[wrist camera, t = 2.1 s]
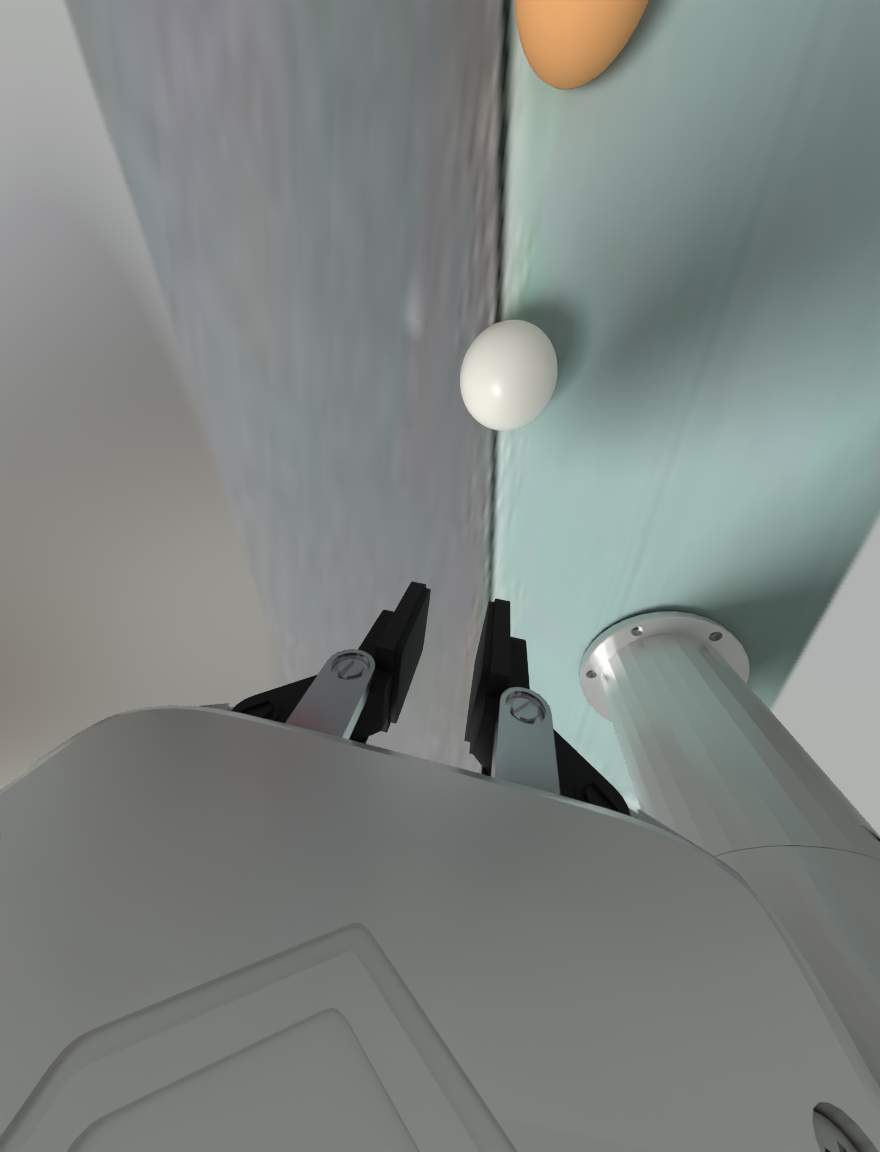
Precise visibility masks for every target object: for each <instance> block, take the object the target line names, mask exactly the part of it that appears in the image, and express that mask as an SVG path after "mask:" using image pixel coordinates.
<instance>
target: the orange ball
mask: <svg viewBox="0 0 880 1152" xmlns="http://www.w3.org/2000/svg"><path fill="white" fill-rule="evenodd" d="M648 1H649V0H515V10H516V21H517V26H518V31H519V36H520V41H521V44H522V48H523V51H524V53H525V55H526V58H527V60H528V62H529V64H530V66H531V67H532V69H533V71H534V72H535V73H536V74H537V76H538V77H539V78H540V79H542V80H543V81H544V82H545V83H546V84H548V85H550V86H552V87H555V88H558V89H573V88H576V87H580V86H582V85H584V84H586V83H588V82H590V81H591V80H593V79H594V78H596V77H597V76H598V75H600V74H601V73H602V72H603V71H604V70H605V69H606V68H607V67H608V66H609V65H610V64H611V63H612V62H613V61H614V60H615V58H616V57H617V56H618V54H619V53H620V52H621V51H622V49H623V48H624V47H625V45H626V43H627V42H628V40H629V39H630V37H631V36H632V34H633V32H634V30H635V29H636V27H637V25H638V23H639V21H640V19H641V17H642V15H643V13H644V11H645V8H646V6H647V4H648Z"/></svg>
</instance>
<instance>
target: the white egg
mask: <svg viewBox="0 0 880 1152" xmlns="http://www.w3.org/2000/svg"><path fill="white" fill-rule="evenodd" d="M557 371H558V366H557V358H556V353H555V350H554V348H553V345H552V343H551V341H550V340H549V338H548V337H547V336H546V334H545V333H544V332H543V331H542V330H541V329H539V328H538V327H537V326H535V325H533V324H531V323H529V322H526V321H523V320H505V321H501V322H498V323H496V324H494V325H492V326H490V327H488V328H487V329H485V330H484V331H483V332H482V333H481V334H479V335H478V336H477V338H476V339H475V340H474V341H473V343H472V344H471V346H470V347H469V349H468V351H467V353H466V355H465V358H464V360H463V364H462V367H461V374H460V388H461V394H462V397H463V401H464V403H465V405H466V407H467V409H468V411H469V412H470V414H471V415H472V416H473V417H474V418H475V419H476V420H477V421H478V422H479V423H481V424H482V425H484V426H486V427H488V428H491V429H494V430H501V431H507V430H513V429H517V428H520V427H523V426H525V425H526V424H528V423H530V422H531V421H533V420H534V419H535V418H536V417H537V416H538V415H539V414H540V413H541V412H542V411H543V410H544V408H545V407H546V406H547V404H548V402H549V401H550V399H551V397H552V394H553V392H554V389H555V385H556V381H557Z"/></svg>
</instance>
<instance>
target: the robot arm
mask: <svg viewBox="0 0 880 1152" xmlns="http://www.w3.org/2000/svg"><path fill="white" fill-rule="evenodd" d="M430 592H431V590H430V589H427V588H426V584H422V583H417V582H411V583H410V585H409V587H408V589H407V590H406V592H405V594H404V596H403V597H402V599H401V601H400V603H399V605H398V606H397V608H396V610H395V612H393V611H388V610H383V611H382V612H381V614H380V616H379V617H378V619H377V620H376V622H375V623H374V625H373V627H372V628H371V630H370V631H369V633H368V635H367V636H366V638H365V639H364V641H363V642H362V644H361V646H360V647H359V649H358V650H355V649H350V650H343V651H340V652H338V653H336V654H334V655H332V656H331V657H330V658H329V659H328V660H327V662H326V663H325V665H324V666H323V668H322V669H321V671H320V672H319V674H318V675H315V676H312V677H309V678H306V679H303V680H300V681H297V682H294V683H291V684H288V685H285V686H282V687H279V688H276V689H272V690H270V691H266V692H263V693H260V694H257V695H254V696H252V697H249V698H247V699H245V700H243V701H242V702H240V703H239V704H237V705H236V706H235V707H230V706H229V703H228V704H227V703H226V704H216V705H204V706H178V705H177V706H175V705H169V706H157V707H146V708H140V709H135V710H130V711H126V712H122V713H119V714H116V715H113V716H110V717H107V718H105V719H103V720H101V721H99V722H97V723H95V724H93V725H92V726H90V727H88V728H86V729H84V730H83V731H81V732H80V733H78V734H76V735H74V736H73V737H71V738H70V739H68V740H67V741H65V742H64V743H62V744H61V745H59V746H58V747H56V748H55V749H53V750H52V751H50V752H49V753H47V754H46V755H44V756H43V757H42V758H40V759H39V760H37V761H36V762H35V763H33V764H31V765H30V766H29V767H27V768H26V769H24V770H23V771H22V772H20V773H19V774H17V775H16V776H15V777H13V778H12V779H10V780H9V781H8V782H6V783H5V784H4V785H2V786H1V787H0V1152H880V836H879V835H878V833H877V832H876V831H875V830H874V829H873V828H872V827H871V825H870V824H869V823H868V822H867V821H866V820H865V819H864V817H863V816H862V815H861V814H860V813H859V812H858V810H857V809H856V808H855V807H854V806H853V805H852V804H851V802H849V800H848V799H847V798H846V797H845V796H844V795H843V794H842V792H841V791H840V790H839V789H838V788H837V787H836V785H835V784H834V783H833V782H832V781H831V780H830V778H829V777H828V776H827V775H826V774H825V773H824V772H823V770H822V769H821V768H820V767H819V766H818V765H817V764H816V763H815V762H814V760H813V759H812V758H811V757H810V756H809V755H808V753H807V752H806V751H805V750H804V749H803V748H802V746H801V745H800V744H799V743H798V742H797V741H796V740H795V738H794V737H793V736H792V735H791V734H790V733H789V732H788V730H787V729H786V728H785V727H784V726H783V725H782V724H781V722H780V721H779V720H778V719H777V718H776V717H775V716H774V715H773V713H772V712H771V711H770V710H769V709H768V708H767V706H766V705H765V704H764V703H763V702H762V701H761V700H760V698H759V697H758V696H757V695H756V694H755V693H754V692H753V690H752V689H751V688H750V687H749V686H748V685H747V682H748V679H749V672H750V664H749V659H748V655H747V653H746V651H745V649H744V647H743V646H742V644H741V643H740V642H739V641H738V640H737V639H736V638H735V637H734V636H733V634H732V633H730V632H729V631H728V630H727V629H726V628H724V627H723V626H722V625H721V624H719V623H717V622H715V621H713V620H711V619H709V618H706V617H703V616H700V615H696V614H693V613H686V612H678V611H661V612H653V613H647V614H641V615H638V616H635V617H632V618H628V619H626V620H624V621H621V622H619V623H617V624H615V625H613V626H611V627H610V628H609V629H607V630H606V631H604V632H603V633H601V634H600V635H599V636H598V637H597V638H596V639H595V640H594V641H593V642H592V643H591V644H590V646H589V647H588V649H587V650H586V652H585V653H584V656H583V658H582V661H581V664H580V672H579V676H580V683H581V687H582V690H583V693H584V696H585V698H586V699H587V701H588V703H589V705H590V706H591V707H592V708H593V709H594V710H595V711H596V712H597V713H598V714H600V715H601V716H603V717H604V718H605V719H607V720H609V721H611V722H612V723H613V726H614V729H615V732H616V735H617V738H618V741H619V744H620V747H621V750H622V753H623V756H624V759H625V762H626V765H627V768H628V771H629V774H630V777H631V780H632V783H633V786H634V789H635V792H636V795H637V798H638V801H639V804H640V807H641V810H642V811H641V810H638V811H637V812H636V813H635V812H634V811H632V810H631V809H629V808H628V806H627V804H626V802H625V801H624V799H623V797H622V796H621V795H620V793H619V792H618V791H617V790H616V789H615V788H614V787H613V786H612V785H611V784H610V783H609V782H608V781H607V780H606V779H605V778H604V777H603V776H602V775H601V774H600V773H599V772H598V771H597V770H596V769H595V768H594V767H592V766H591V765H590V764H589V763H588V762H587V761H586V760H585V759H584V758H583V757H582V756H581V755H580V754H579V753H578V752H577V751H576V750H575V749H574V748H573V747H572V746H571V745H570V744H569V743H567V742H566V741H565V740H564V739H563V738H562V737H561V736H560V735H559V734H558V733H557V732H556V731H555V730H554V729H553V722H552V713H551V710H550V707H549V705H548V704H547V702H546V700H544V699H543V698H542V697H541V696H540V695H539V694H537V693H536V692H534V691H532V690H530V687H529V674H528V661H527V648H526V641H525V640H523V639H519V638H514V637H510V601H505V600H500V599H495V601H494V602H491V601H489V603H488V607H487V611H486V616H485V620H484V624H483V629H482V633H481V637H480V642H479V646H478V650H477V655H476V659H475V665H474V672H473V680H472V687H471V695H470V702H469V710H468V717H467V725H466V732H465V741H468V742H471V743H470V752H469V753H470V754H473V755H474V756H475V757H476V759H477V760H478V761H479V763H480V764H481V766H480V769H479V773H475V772H472V771H468V770H464V769H460V768H457V767H453V766H449V765H445V764H441V763H437V762H434V761H430V760H426V759H422V758H418V757H414V756H411V755H407V754H403V753H399V752H395V751H391V750H387V749H384V748H380V747H376V746H372V745H369V744H370V742H371V737H372V735H373V734H375V733H377V732H379V731H383V732H387V731H388V728H389V726H390V723H391V722H392V723H396V722H397V720H398V717H399V715H400V712H401V709H402V706H403V704H404V701H405V698H406V695H407V692H408V690H409V687H410V684H411V681H412V678H413V676H414V673H415V670H416V667H417V665H418V662H419V659H420V656H421V653H422V650H423V645H424V637H425V630H426V622H427V615H428V607H429V599H430Z"/></svg>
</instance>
